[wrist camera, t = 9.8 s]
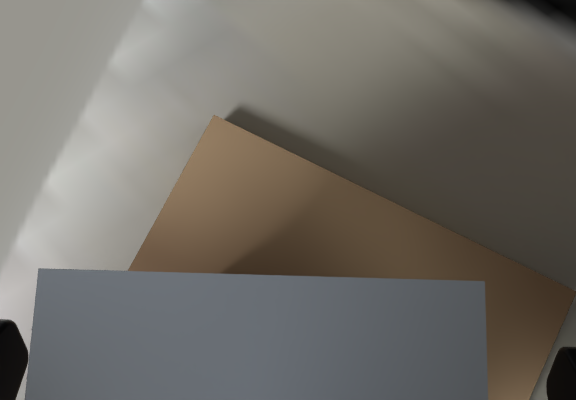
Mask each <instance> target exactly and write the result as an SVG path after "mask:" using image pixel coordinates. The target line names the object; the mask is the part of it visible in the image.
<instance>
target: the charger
mask: <svg viewBox="0 0 576 400" xmlns="http://www.w3.org/2000/svg"><path fill="white" fill-rule="evenodd" d="M25 400H488V376H487V341H486V307H485V281H461V280H425V279H390V278H355V277H320V276H285V275H250V274H214V273H179V272H144V271H109V270H74V269H38V279H37V288H36V298H35V307H34V317H33V326H32V336H31V345H30V355H29V364H28V374H27V383H26V393H25Z"/></svg>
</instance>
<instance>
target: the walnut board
mask: <svg viewBox="0 0 576 400" xmlns="http://www.w3.org/2000/svg"><path fill="white" fill-rule="evenodd" d="M128 271H144V272H179V273H214V274H250V275H285V276H320V277H355V278H390V279H425V280H461V281H485V307H486V341H487V376H488V400H529V399H530V396H531V394H532V392H533V390H534V387H535V385H536V383H537V381H538V378H539V376H540V374H541V372H542V369H543V367H544V365H545V362H546V360H547V358H548V356H549V353H550V351H551V349H552V347H553V344H554V342H555V340H556V338H557V335H558V333H559V331H560V329H561V326H562V324H563V322H564V320H565V317H566V315H567V313H568V311H569V308H570V306H571V304H572V302H573V299H574V297H575V295H576V291H574V290H572V289H570V288H568V287H566V286H564V285H562V284H560V283H558V282H556V281H554V280H552V279H550V278H548V277H545V276H543V275H541V274H539V273H537V272H535V271H533V270H531V269H529V268H527V267H525V266H523V265H521V264H519V263H517V262H515V261H513V260H511V259H509V258H507V257H504V256H502V255H500V254H498V253H496V252H494V251H492V250H490V249H488V248H486V247H484V246H482V245H480V244H478V243H476V242H474V241H472V240H470V239H468V238H466V237H463V236H461V235H459V234H457V233H455V232H453V231H451V230H449V229H447V228H445V227H443V226H441V225H439V224H437V223H435V222H433V221H431V220H429V219H427V218H424V217H422V216H420V215H418V214H416V213H414V212H412V211H410V210H408V209H406V208H404V207H402V206H400V205H398V204H396V203H394V202H392V201H390V200H388V199H386V198H383V197H381V196H379V195H377V194H375V193H373V192H371V191H369V190H367V189H365V188H363V187H361V186H359V185H357V184H355V183H353V182H351V181H349V180H347V179H345V178H342V177H340V176H338V175H336V174H334V173H332V172H330V171H328V170H326V169H324V168H322V167H320V166H318V165H316V164H314V163H312V162H310V161H308V160H306V159H304V158H301V157H299V156H297V155H295V154H293V153H291V152H289V151H287V150H285V149H283V148H281V147H279V146H277V145H275V144H273V143H271V142H269V141H267V140H265V139H263V138H260V137H258V136H256V135H254V134H252V133H250V132H248V131H246V130H244V129H242V128H240V127H238V126H236V125H234V124H232V123H230V122H228V121H226V120H224V119H222V118H219V117H217V116H215V115H214V116H213V117H212V119H211V121H210V123H209V125H208V127H207V128H206V130H205V132H204V134H203V136H202V137H201V139H200V141H199V143H198V145H197V146H196V148H195V150H194V152H193V154H192V156H191V157H190V159H189V161H188V163H187V165H186V166H185V168H184V170H183V172H182V174H181V175H180V177H179V179H178V181H177V183H176V184H175V186H174V188H173V190H172V192H171V194H170V195H169V197H168V199H167V201H166V203H165V204H164V206H163V208H162V210H161V212H160V213H159V215H158V217H157V219H156V221H155V223H154V224H153V226H152V228H151V230H150V232H149V233H148V235H147V237H146V239H145V241H144V242H143V244H142V246H141V248H140V250H139V251H138V253H137V255H136V257H135V259H134V261H133V262H132V264H131V266H130V268H129V270H128Z"/></svg>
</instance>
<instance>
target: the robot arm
mask: <svg viewBox="0 0 576 400" xmlns="http://www.w3.org/2000/svg"><path fill="white" fill-rule="evenodd" d="M27 364H28V350H27V348H26V345H25V343H24V341H23V339H22V336H21V334H20V332H19V330H18V327H17V325H16V324H15V323H14V322H13V321H12V320H4V319H0V400H16V397H17V394H18V391H19V388H20V385H21V382H22V379H23V376H24V373H25V370H26V367H27ZM546 388H547V396H548V400H576V347H562V348H561V349H560V350H559V351H558V353H557V355H556V358H555V360H554V363H553V365H552V368H551V370H550V373H549V375H548V378H547V385H546Z"/></svg>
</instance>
